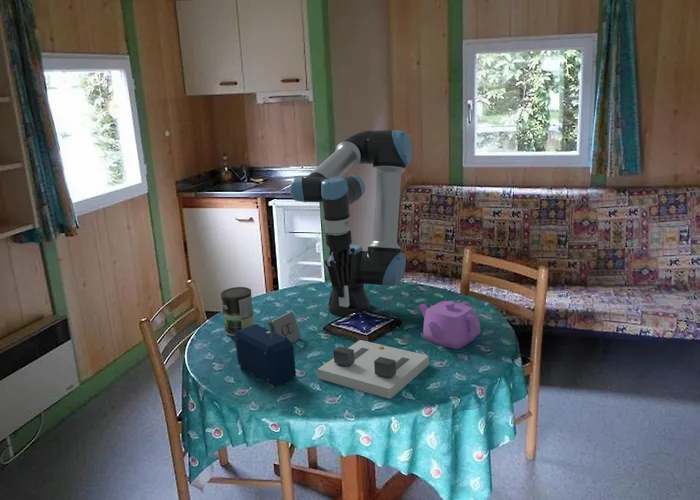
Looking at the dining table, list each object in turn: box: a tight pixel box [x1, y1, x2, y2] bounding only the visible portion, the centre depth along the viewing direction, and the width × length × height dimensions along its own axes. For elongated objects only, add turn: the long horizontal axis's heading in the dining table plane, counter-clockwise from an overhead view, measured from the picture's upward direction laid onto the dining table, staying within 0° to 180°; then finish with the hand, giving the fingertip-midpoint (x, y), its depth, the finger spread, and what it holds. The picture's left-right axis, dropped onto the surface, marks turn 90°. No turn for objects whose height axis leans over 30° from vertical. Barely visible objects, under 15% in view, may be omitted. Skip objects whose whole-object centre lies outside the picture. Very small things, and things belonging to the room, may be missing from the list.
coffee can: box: [220, 286, 255, 337], centre depth 216 cm, size 10×10×14 cm
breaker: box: [374, 357, 396, 378], centre depth 174 cm, size 3×5×4 cm, turn 56°
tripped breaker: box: [332, 345, 354, 367], centre depth 182 cm, size 3×5×4 cm, turn 56°
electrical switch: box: [268, 311, 301, 344], centre depth 206 cm, size 9×5×9 cm, turn 141°
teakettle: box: [418, 300, 481, 350], centre depth 200 cm, size 17×17×12 cm
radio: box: [234, 313, 297, 387], centre depth 184 cm, size 21×9×20 cm, turn 42°
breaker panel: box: [317, 339, 430, 400], centre depth 183 cm, size 22×24×3 cm
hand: (344, 305), depth 192 cm, fingers closed
